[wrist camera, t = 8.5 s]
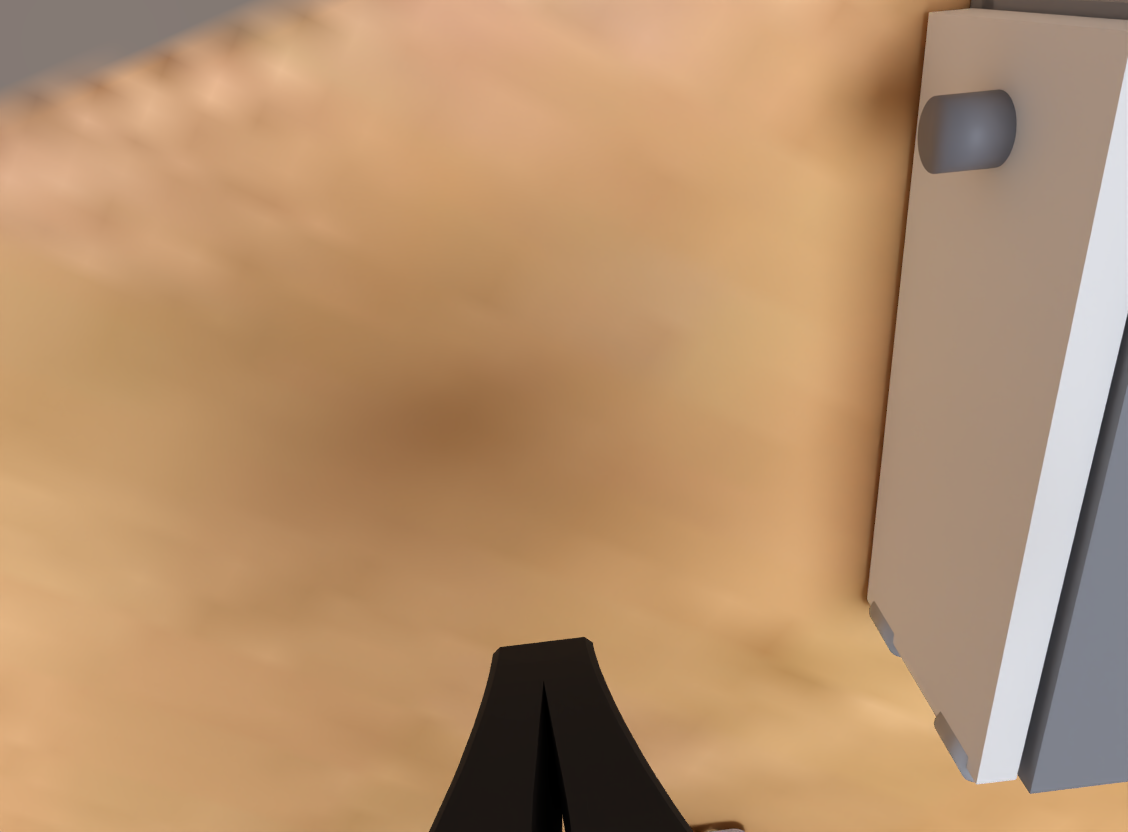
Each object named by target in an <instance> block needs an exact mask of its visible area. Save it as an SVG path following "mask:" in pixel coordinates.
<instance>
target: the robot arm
mask: <svg viewBox="0 0 1128 832" xmlns="http://www.w3.org/2000/svg"><path fill="white" fill-rule="evenodd" d="M562 816H563V821H564V827H565V832H693V830H692V829H691V828H690V826H689V825H688V823H687V822H686V821H685V819H684V818H683V816H682V815H681V813H680V812H679V810H678V809H677V808H676V806H675V805H674V803H673V802H672V800H671V799H670V797H669V795H668V794H667V792H666V791H665V789H664V788H663V786H662V785H661V783H660V782H659V780H658V779H657V777H656V775H655V774H654V772H653V771H652V769H651V767H650V766H649V764H648V762H647V761H646V759H645V757H644V756H643V754H642V752H641V750H640V749H639V747H638V745H637V743H636V741H635V740H634V738H633V736H632V734H631V733H630V731H629V729H628V727H627V725H626V724H625V722H624V720H623V718H622V716H621V714H620V712H619V710H618V708H617V706H616V704H615V702H614V700H613V697H612V695H611V693H610V691H609V689H608V687H607V684H606V682H605V680H604V677H603V675H602V672H601V669H600V667H599V664H598V661H597V658H596V655H595V651H594V647H593V643H592V642H591V641H589V640H588V639H586V638H585V637H581V638H572V639H564V640H556V641H547V642H539V643H531V644H522V645H514V646H506V647H500V648H499V649H498V650H497V651H496V652H495V653H494V654H493V658H492V663H491V669H490V673H489V677H488V681H487V685H486V689H485V692H484V695H483V699H482V702H481V705H480V708H479V711H478V714H477V717H476V720H475V723H474V726H473V729H472V732H471V734H470V737H469V740H468V742H467V745H466V747H465V750H464V753H463V755H462V758H461V761H460V763H459V766H458V768H457V771H456V773H455V776H454V778H453V780H452V783H451V785H450V787H449V789H448V791H447V794H446V796H445V798H444V800H443V802H442V805H441V807H440V809H439V811H438V813H437V816H436V818H435V820H434V822H433V824H432V827H431V829H430V831H429V832H562ZM709 832H745V831H743V830H740V829H725V830H717V831H709Z"/></svg>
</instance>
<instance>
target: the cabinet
mask: <svg viewBox="0 0 1128 832" xmlns="http://www.w3.org/2000/svg"><path fill="white" fill-rule="evenodd" d="M970 8H977V9H990V10H1003V11H1016V12H1029V13H1042V14H1055V15H1068V16H1081V17H1094V18H1107V19H1120V20H1128V0H971V5H970ZM1017 774H1018V776H1019V778H1020V779H1021V781H1022V782H1023V784H1024V785H1025V787H1026V788H1027V790H1028V791H1029V793H1030V794H1032V793H1040V792H1048V791H1056V790H1064V789H1071V788H1079V787H1087V786H1095V785H1103V784H1111V783H1119V782H1127V781H1128V314H1127V318H1126V322H1125V327H1124V331H1123V335H1122V339H1121V343H1120V347H1119V352H1118V356H1117V360H1116V364H1115V368H1114V373H1113V377H1112V381H1111V385H1110V389H1109V393H1108V398H1107V402H1106V406H1105V410H1104V414H1103V418H1102V423H1101V427H1100V431H1099V435H1098V439H1097V444H1096V448H1095V452H1094V456H1093V460H1092V464H1091V469H1090V473H1089V477H1088V481H1087V485H1086V489H1085V494H1084V498H1083V502H1082V506H1081V510H1080V515H1079V519H1078V523H1077V527H1076V531H1075V535H1074V540H1073V544H1072V548H1071V552H1070V556H1069V560H1068V565H1067V569H1066V573H1065V577H1064V581H1063V585H1062V590H1061V594H1060V598H1059V602H1058V606H1057V611H1056V615H1055V619H1054V623H1053V627H1052V631H1051V636H1050V640H1049V644H1048V648H1047V652H1046V656H1045V661H1044V665H1043V669H1042V673H1041V677H1040V682H1039V686H1038V690H1037V694H1036V698H1035V702H1034V707H1033V711H1032V715H1031V719H1030V723H1029V727H1028V732H1027V736H1026V740H1025V744H1024V748H1023V753H1022V757H1021V761H1020V765H1019V769H1018V773H1017Z"/></svg>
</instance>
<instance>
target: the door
mask: <svg viewBox="0 0 1128 832" xmlns="http://www.w3.org/2000/svg"><path fill="white" fill-rule="evenodd" d="M1127 314H1128V20H1120V19H1107V18H1094V17H1081V16H1068V15H1055V14H1042V13H1029V12H1016V11H1003V10H990V9H977V8H969V9H958V10H948V11H937V12H929V17H928V27H927V36H926V46H925V55H924V65H923V74H922V84H921V93H920V103H919V112H918V122H917V131H916V140H915V150H914V159H913V169H912V178H911V188H910V197H909V207H908V216H907V226H906V235H905V245H904V254H903V263H902V273H901V282H900V292H899V301H898V311H897V320H896V330H895V339H894V349H893V358H892V368H891V377H890V386H889V396H888V405H887V415H886V424H885V434H884V443H883V453H882V462H881V472H880V481H879V491H878V500H877V509H876V519H875V528H874V538H873V547H872V557H871V566H870V576H869V585H868V595H867V600H868V602H869V604H870V605H871V606H870V609H869V614H870V617H871V619H872V620H873V622H874V624H875V626H876V627H877V629H878V631H879V632H880V634H881V636H882V638H883V639H884V641H885V643H886V644H887V646H888V648H889V650H890V651H891V653H893V654H894V655H896V656H899V657H901V658H902V660H903V661H904V663H905V665H906V666H907V668H908V670H909V671H910V673H911V675H912V677H913V678H914V680H915V682H916V683H917V685H918V687H919V688H920V690H921V692H922V693H923V695H924V697H925V699H926V700H927V702H928V704H929V705H930V707H931V709H932V710H933V712H934V714H935V715H936V718H935V721H934V726H935V729H936V731H937V732H938V734H939V736H940V738H941V739H942V741H943V743H944V744H945V746H946V748H947V750H948V751H949V753H950V755H951V756H952V758H953V760H954V762H955V763H956V765H957V767H958V769H959V770H960V772H961V774H962V775H963V777H964V778H965V779H966V780H968V781H971V782H975V783H976V784H983V783H992V782H1000V781H1009V780H1016V778H1017V773H1018V769H1019V765H1020V761H1021V757H1022V753H1023V748H1024V744H1025V740H1026V736H1027V732H1028V727H1029V723H1030V719H1031V715H1032V711H1033V707H1034V702H1035V698H1036V694H1037V690H1038V686H1039V682H1040V677H1041V673H1042V669H1043V665H1044V661H1045V656H1046V652H1047V648H1048V644H1049V640H1050V636H1051V631H1052V627H1053V623H1054V619H1055V615H1056V611H1057V606H1058V602H1059V598H1060V594H1061V590H1062V585H1063V581H1064V577H1065V573H1066V569H1067V565H1068V560H1069V556H1070V552H1071V548H1072V544H1073V540H1074V535H1075V531H1076V527H1077V523H1078V519H1079V515H1080V510H1081V506H1082V502H1083V498H1084V494H1085V489H1086V485H1087V481H1088V477H1089V473H1090V469H1091V464H1092V460H1093V456H1094V452H1095V448H1096V444H1097V439H1098V435H1099V431H1100V427H1101V423H1102V418H1103V414H1104V410H1105V406H1106V402H1107V398H1108V393H1109V389H1110V385H1111V381H1112V377H1113V373H1114V368H1115V364H1116V360H1117V356H1118V352H1119V347H1120V343H1121V339H1122V335H1123V331H1124V327H1125V322H1126V318H1127Z"/></svg>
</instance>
